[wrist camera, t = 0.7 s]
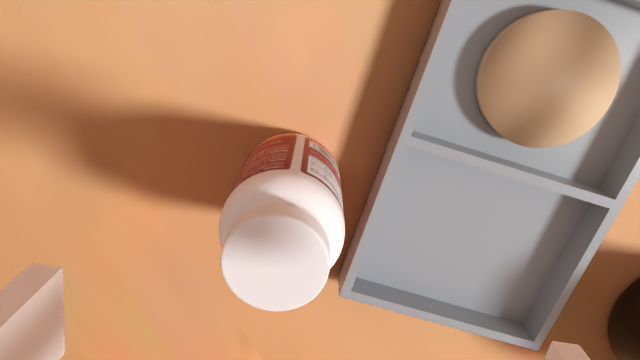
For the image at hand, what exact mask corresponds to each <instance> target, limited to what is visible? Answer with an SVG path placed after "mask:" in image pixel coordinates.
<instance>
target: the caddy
mask: <svg viewBox="0 0 640 360" xmlns="http://www.w3.org/2000/svg"><path fill="white" fill-rule="evenodd" d="M541 10H573V11H577V12H581V13H584V14H586V15H589V16H591V17H593V18H594V19H596V20H597V21H599V22H600V23H601V24H602V25H603V26H605V27H606V29H607V30H608V31H609V32H610V34H611V35H612V37H613V39H614V40H615V43H616V45H617V48H618V51H619V55H620V63H621V73H620V80H619V86H618V89H617V92H616V95H615V97H614V99H613V101H612V103H611V105H610V107H609V108H608V110H607V111H606V113H605V114H604V115H603V117H602V118H601V119H600V120H599V121H598V122H597V123H596V124H595V125H594V126H593V127H592V128H591V129H590V130H589V131H587V132H586V133H584V134H583V135H581V136H580V137H578V138H576V139H574V140H573V141H570V142H568V143H565V144H563V145H559V146H555V147H550V148H529V147H524V146H520V145H518V144H515V143H513V142H511V141H509V140H507V139H505V138H504V137H503V136H501V135H500V134H499V133H497V132H496V131H495V130H494V129H492V128H491V127H490V126H489V125H488V124H487V122H486V121H485V119H484V118H483V117H482V115H481V113H480V111H479V108H478V105H477V102H476V97H475V87H474V85H475V75H476V70H477V67H478V64H479V61H480V58H481V56H482V54H483V52H484V50H485V49H486V47H487V46H488V44H489V43H490V41H491V40H492V39H493V38H494V37H495V35H496V34H497V33H498V32H500V31H501V30H502V29H503V28H504V27H505V26H507V25H508V24H509V23H511V22H512V21H514V20H516V19H517V18H519V17H522V16H524V15H526V14H529V13H532V12H536V11H541ZM639 177H640V0H441V1H440V4H439V7H438V10H437V12H436V15H435V18H434V20H433V23H432V26H431V28H430V31H429V34H428V36H427V39H426V42H425V44H424V47H423V50H422V52H421V55H420V58H419V60H418V63H417V66H416V68H415V71H414V74H413V77H412V79H411V82H410V85H409V87H408V90H407V93H406V95H405V98H404V101H403V103H402V106H401V109H400V111H399V114H398V117H397V119H396V122H395V125H394V127H393V130H392V133H391V136H390V138H389V141H388V144H387V146H386V149H385V152H384V154H383V157H382V160H381V162H380V165H379V168H378V170H377V173H376V176H375V178H374V181H373V184H372V186H371V189H370V192H369V195H368V197H367V200H366V203H365V205H364V208H363V211H362V213H361V216H360V219H359V221H358V224H357V227H356V229H355V232H354V235H353V237H352V240H351V243H350V245H349V248H348V251H347V253H346V256H345V259H344V262H343V264H342V267H341V270H340V272H339V275H338V282H339V296H340V297H343V298H347V299H351V300H354V301H358V302H361V303H365V304H369V305H372V306H376V307H380V308H383V309H387V310H390V311H394V312H398V313H401V314H405V315H409V316H412V317H416V318H419V319H423V320H427V321H430V322H434V323H438V324H441V325H445V326H448V327H452V328H456V329H459V330H463V331H467V332H470V333H474V334H477V335H481V336H485V337H488V338H492V339H496V340H499V341H503V342H506V343H510V344H514V345H517V346H521V347H525V348H528V349H532V350H535V351H539V349H540V347H541V345H542V344H543V342H544V340H545V339H546V337H547V335H548V333H549V332H550V330H551V328H552V327H553V325H554V323H555V321H556V320H557V318H558V316H559V314H560V313H561V311H562V309H563V308H564V306H565V304H566V302H567V301H568V299H569V297H570V296H571V294H572V292H573V290H574V289H575V287H576V285H577V283H578V282H579V280H580V278H581V277H582V275H583V273H584V271H585V270H586V268H587V266H588V265H589V263H590V261H591V259H592V258H593V256H594V254H595V253H596V251H597V249H598V247H599V246H600V244H601V242H602V240H603V239H604V237H605V235H606V234H607V232H608V230H609V228H610V227H611V225H612V223H613V222H614V220H615V218H616V216H617V215H618V213H619V211H620V209H621V208H622V206H623V204H624V203H625V201H626V199H627V197H628V196H629V194H630V192H631V191H632V189H633V187H634V185H635V184H636V182H637V180H638V179H639Z"/></svg>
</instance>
